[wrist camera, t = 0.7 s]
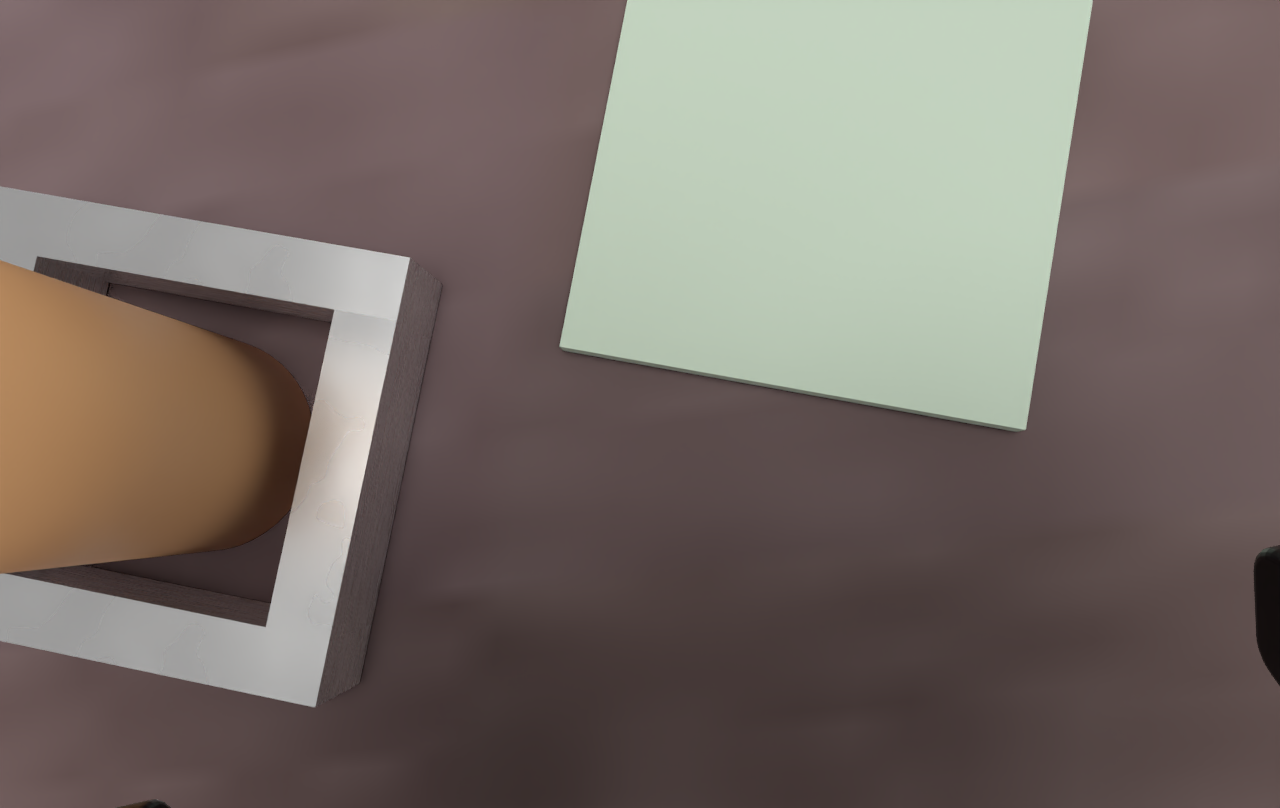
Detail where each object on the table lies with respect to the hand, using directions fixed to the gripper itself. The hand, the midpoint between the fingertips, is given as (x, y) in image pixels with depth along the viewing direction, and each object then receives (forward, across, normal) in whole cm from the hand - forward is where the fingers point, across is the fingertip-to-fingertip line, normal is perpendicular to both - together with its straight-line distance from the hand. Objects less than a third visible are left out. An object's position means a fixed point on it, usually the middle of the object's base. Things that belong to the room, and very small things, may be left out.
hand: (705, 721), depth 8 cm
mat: (+16, -5, -2) cm, 17 cm away
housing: (+14, +10, +1) cm, 18 cm away
